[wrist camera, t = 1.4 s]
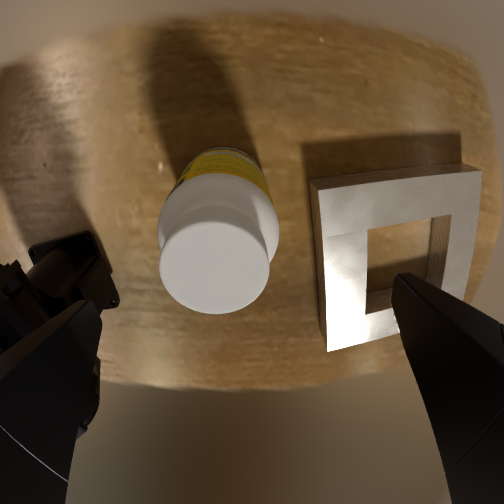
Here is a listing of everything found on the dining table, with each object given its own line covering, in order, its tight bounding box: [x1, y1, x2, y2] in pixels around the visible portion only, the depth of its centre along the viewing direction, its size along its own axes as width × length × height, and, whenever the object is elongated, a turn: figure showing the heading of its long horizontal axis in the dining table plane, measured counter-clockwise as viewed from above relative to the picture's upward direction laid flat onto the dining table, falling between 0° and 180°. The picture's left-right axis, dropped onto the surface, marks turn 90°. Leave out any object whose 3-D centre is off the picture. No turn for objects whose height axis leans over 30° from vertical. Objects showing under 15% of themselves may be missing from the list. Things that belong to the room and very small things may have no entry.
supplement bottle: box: [157, 147, 279, 314], centre depth 15 cm, size 5×5×10 cm
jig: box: [308, 163, 482, 351], centre depth 21 cm, size 13×13×2 cm
